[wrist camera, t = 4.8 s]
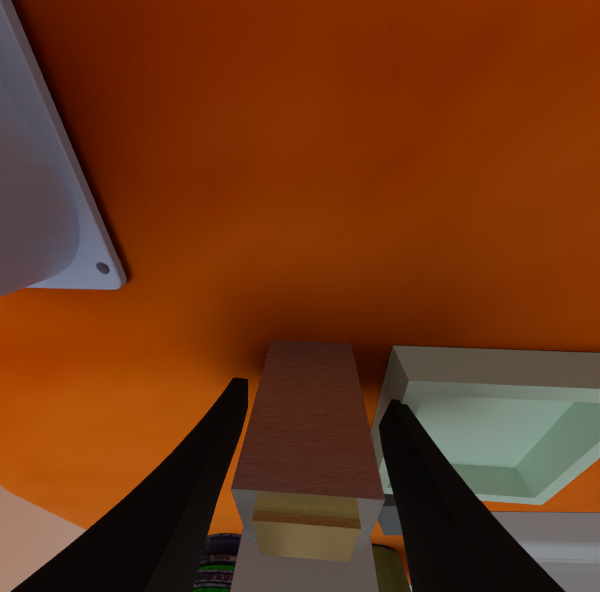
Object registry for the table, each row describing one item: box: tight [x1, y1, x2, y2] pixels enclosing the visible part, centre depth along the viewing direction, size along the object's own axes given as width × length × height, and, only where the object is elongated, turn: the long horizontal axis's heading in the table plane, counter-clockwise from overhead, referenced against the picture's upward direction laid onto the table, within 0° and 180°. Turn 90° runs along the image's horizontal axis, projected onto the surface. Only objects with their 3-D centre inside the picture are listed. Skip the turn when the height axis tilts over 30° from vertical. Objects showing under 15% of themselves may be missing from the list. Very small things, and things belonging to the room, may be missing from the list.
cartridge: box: [231, 341, 385, 562], centre depth 9 cm, size 4×4×6 cm
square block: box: [378, 494, 403, 535], centre depth 16 cm, size 5×5×2 cm
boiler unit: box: [230, 526, 379, 592], centre depth 13 cm, size 8×6×7 cm
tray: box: [371, 346, 600, 505], centre depth 12 cm, size 10×10×2 cm
